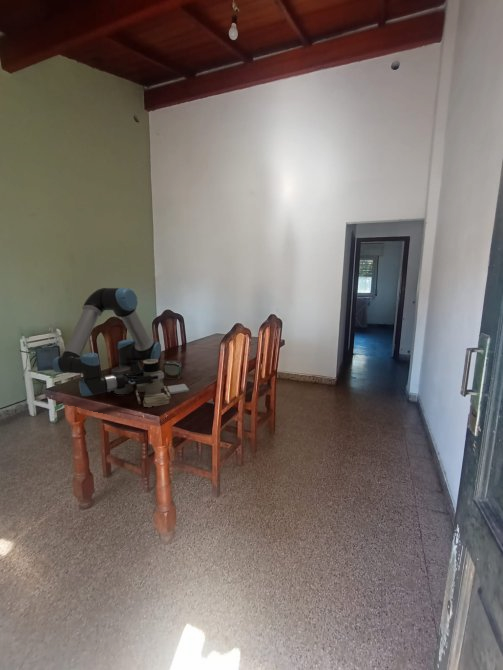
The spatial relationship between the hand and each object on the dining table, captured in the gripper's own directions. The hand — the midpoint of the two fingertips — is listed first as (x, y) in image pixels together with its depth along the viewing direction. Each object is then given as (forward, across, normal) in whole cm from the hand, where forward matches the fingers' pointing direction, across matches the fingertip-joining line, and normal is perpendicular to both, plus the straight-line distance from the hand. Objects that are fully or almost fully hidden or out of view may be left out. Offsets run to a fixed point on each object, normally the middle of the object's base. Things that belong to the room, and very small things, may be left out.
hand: (160, 373), depth 176 cm
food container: (+17, -26, -13) cm, 34 cm away
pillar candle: (-16, -18, -13) cm, 27 cm away
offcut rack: (-4, -1, -13) cm, 14 cm away
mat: (+10, -4, -13) cm, 17 cm away
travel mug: (-5, 0, -11) cm, 12 cm away
